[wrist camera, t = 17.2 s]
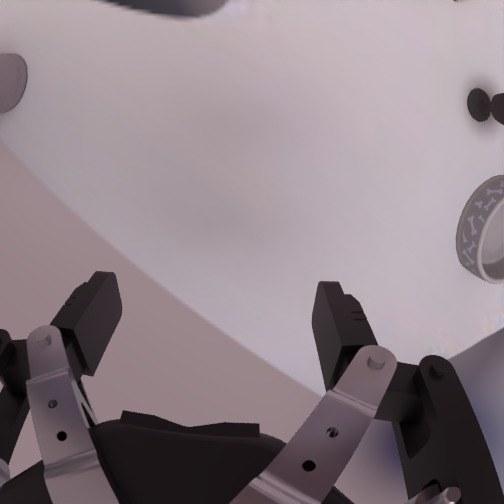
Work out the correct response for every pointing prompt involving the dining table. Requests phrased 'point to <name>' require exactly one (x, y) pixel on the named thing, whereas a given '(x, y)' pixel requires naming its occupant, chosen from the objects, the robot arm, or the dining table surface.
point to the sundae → (486, 106)
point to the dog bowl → (483, 232)
